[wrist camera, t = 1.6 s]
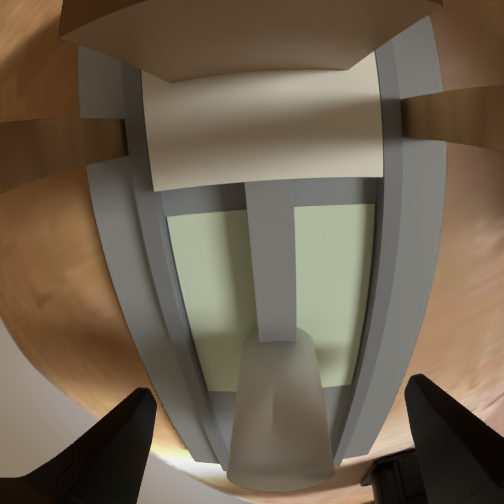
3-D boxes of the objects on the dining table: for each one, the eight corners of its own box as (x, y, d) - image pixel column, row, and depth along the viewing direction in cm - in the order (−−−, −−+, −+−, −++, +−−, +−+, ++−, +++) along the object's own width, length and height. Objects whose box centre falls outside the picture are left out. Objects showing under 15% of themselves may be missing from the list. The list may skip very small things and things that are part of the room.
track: (365, 443, 15) (369, 461, 14) (197, 450, 16) (193, 468, 15) (398, -36, 5) (413, -53, 3) (97, -11, 6) (77, -24, 4)
